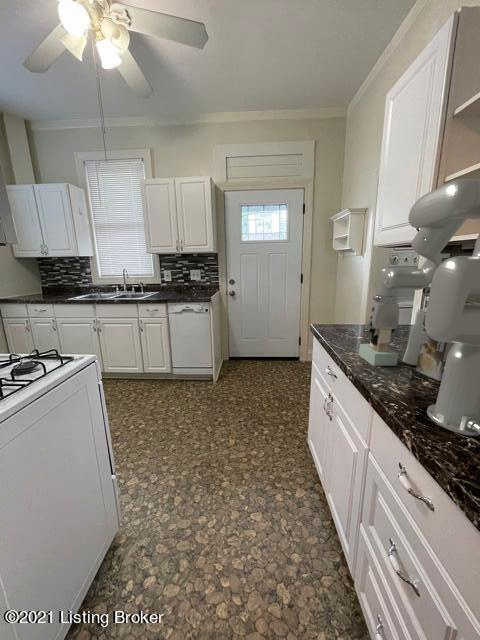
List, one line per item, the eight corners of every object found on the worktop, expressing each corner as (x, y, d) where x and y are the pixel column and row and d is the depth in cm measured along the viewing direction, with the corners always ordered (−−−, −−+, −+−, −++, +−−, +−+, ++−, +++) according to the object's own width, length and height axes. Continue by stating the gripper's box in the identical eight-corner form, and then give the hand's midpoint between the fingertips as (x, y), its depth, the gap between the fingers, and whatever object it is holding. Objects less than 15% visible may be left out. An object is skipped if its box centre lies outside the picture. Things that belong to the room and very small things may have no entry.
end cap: (396, 365, 105) (398, 353, 104) (373, 365, 104) (375, 353, 103) (379, 354, 116) (381, 343, 115) (358, 354, 116) (360, 343, 114)
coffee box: (451, 378, 95) (461, 335, 91) (439, 381, 93) (449, 337, 89) (425, 368, 103) (434, 328, 99) (414, 370, 101) (422, 330, 97)
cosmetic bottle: (400, 358, 112) (409, 307, 106) (415, 360, 111) (426, 308, 106) (406, 364, 106) (416, 311, 101) (422, 366, 105) (434, 311, 100)
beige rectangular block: (386, 356, 107) (391, 327, 104) (377, 356, 106) (381, 327, 104) (378, 350, 113) (382, 323, 110) (369, 350, 112) (373, 323, 109)
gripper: (371, 301, 100) (364, 347, 104) (413, 301, 101) (404, 347, 106) (360, 298, 107) (355, 341, 111) (400, 298, 108) (392, 340, 113)
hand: (379, 343), depth 108 cm, fingers closed on beige rectangular block, 4 cm apart
